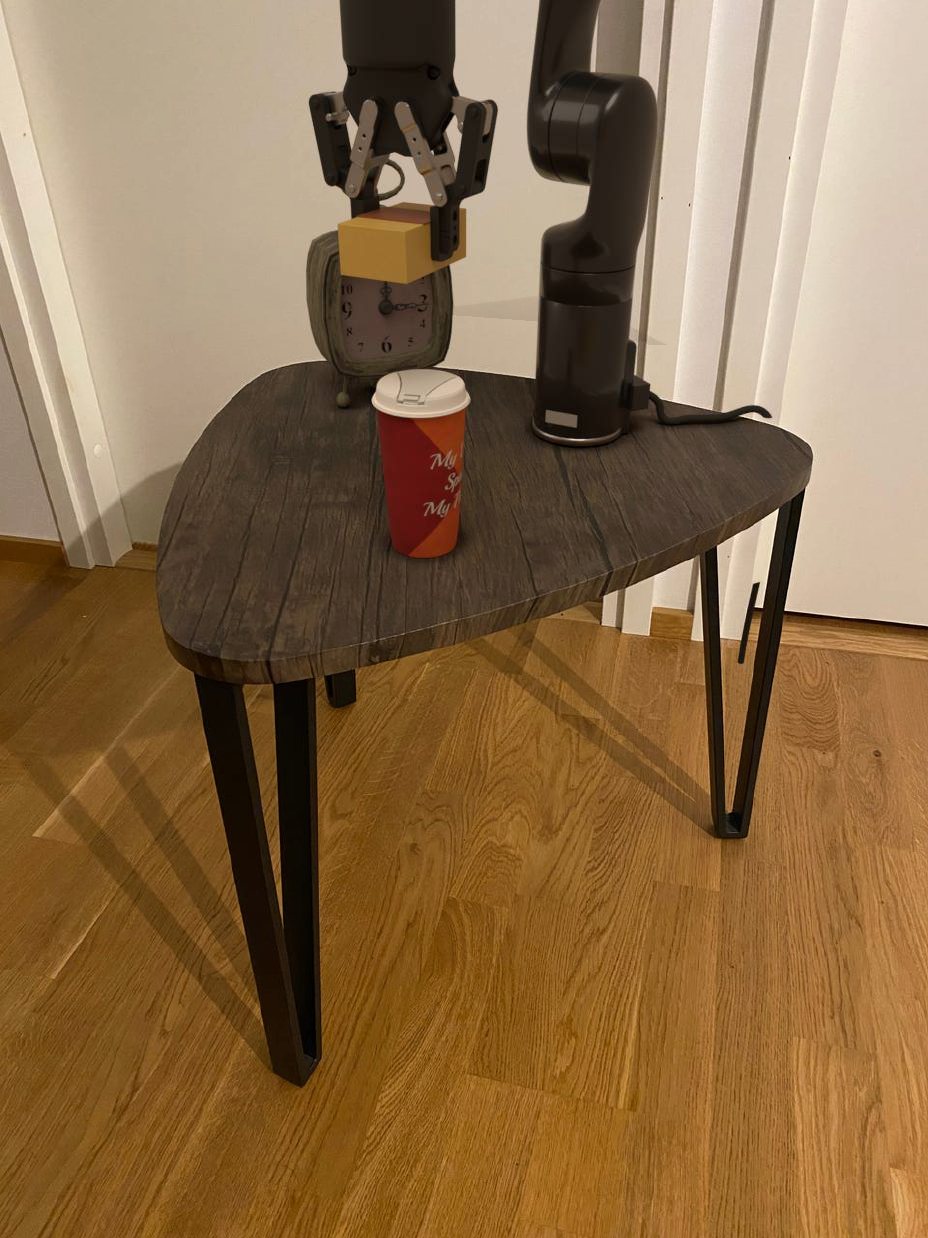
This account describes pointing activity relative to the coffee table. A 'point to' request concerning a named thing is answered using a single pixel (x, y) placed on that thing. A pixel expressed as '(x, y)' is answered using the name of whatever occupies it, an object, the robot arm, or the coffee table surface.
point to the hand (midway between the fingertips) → (405, 253)
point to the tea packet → (393, 244)
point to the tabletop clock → (375, 315)
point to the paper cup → (422, 457)
